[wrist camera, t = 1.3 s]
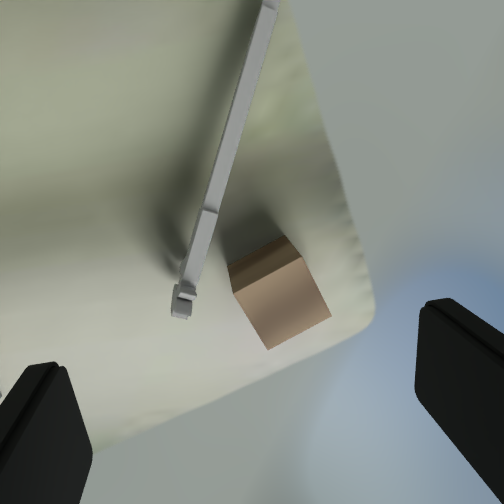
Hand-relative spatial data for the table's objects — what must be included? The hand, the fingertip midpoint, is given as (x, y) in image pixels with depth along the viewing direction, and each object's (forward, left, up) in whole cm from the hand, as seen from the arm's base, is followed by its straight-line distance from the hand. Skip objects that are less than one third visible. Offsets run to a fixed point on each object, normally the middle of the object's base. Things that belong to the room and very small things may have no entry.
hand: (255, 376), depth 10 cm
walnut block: (+5, +3, -18) cm, 19 cm away
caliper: (-4, +1, -19) cm, 20 cm away
